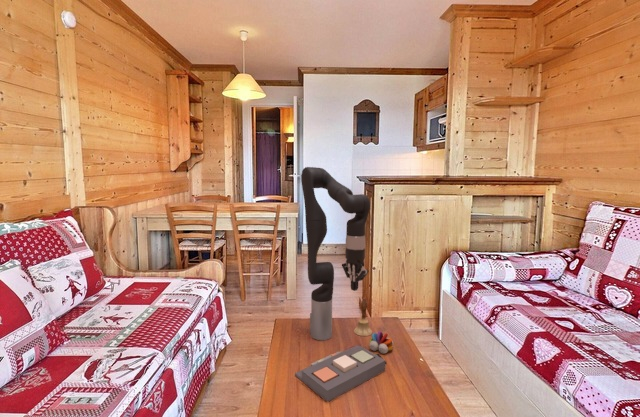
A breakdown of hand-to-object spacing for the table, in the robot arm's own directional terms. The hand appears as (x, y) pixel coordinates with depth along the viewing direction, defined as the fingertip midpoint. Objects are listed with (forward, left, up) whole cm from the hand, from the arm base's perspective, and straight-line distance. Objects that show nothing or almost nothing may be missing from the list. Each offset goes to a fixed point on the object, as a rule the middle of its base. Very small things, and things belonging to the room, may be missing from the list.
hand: (354, 289), depth 136 cm
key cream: (+8, -12, -24) cm, 28 cm away
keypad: (+6, -12, -27) cm, 30 cm away
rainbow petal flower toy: (+4, +12, -27) cm, 30 cm away
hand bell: (-11, +17, -27) cm, 34 cm away
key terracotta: (+8, -21, -25) cm, 34 cm away
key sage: (+8, -3, -25) cm, 27 cm away
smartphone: (+7, 0, -28) cm, 28 cm away
